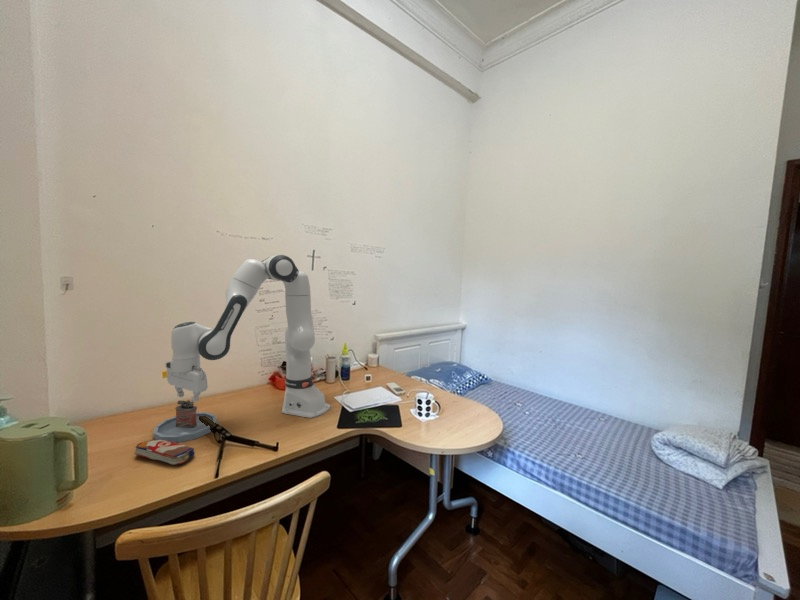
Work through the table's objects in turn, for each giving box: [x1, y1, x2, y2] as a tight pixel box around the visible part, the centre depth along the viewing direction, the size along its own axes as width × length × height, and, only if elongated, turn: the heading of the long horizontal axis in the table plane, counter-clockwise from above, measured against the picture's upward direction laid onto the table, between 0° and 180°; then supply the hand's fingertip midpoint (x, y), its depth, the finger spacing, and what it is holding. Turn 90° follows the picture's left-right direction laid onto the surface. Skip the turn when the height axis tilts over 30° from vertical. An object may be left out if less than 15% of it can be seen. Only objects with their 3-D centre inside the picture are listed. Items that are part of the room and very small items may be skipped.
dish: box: [152, 411, 218, 444], centre depth 120 cm, size 20×20×2 cm
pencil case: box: [134, 439, 196, 465], centre depth 101 cm, size 11×20×5 cm, turn 62°
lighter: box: [175, 399, 198, 428], centre depth 120 cm, size 8×3×10 cm, turn 85°
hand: (187, 398), depth 119 cm, fingers open, 8 cm apart
